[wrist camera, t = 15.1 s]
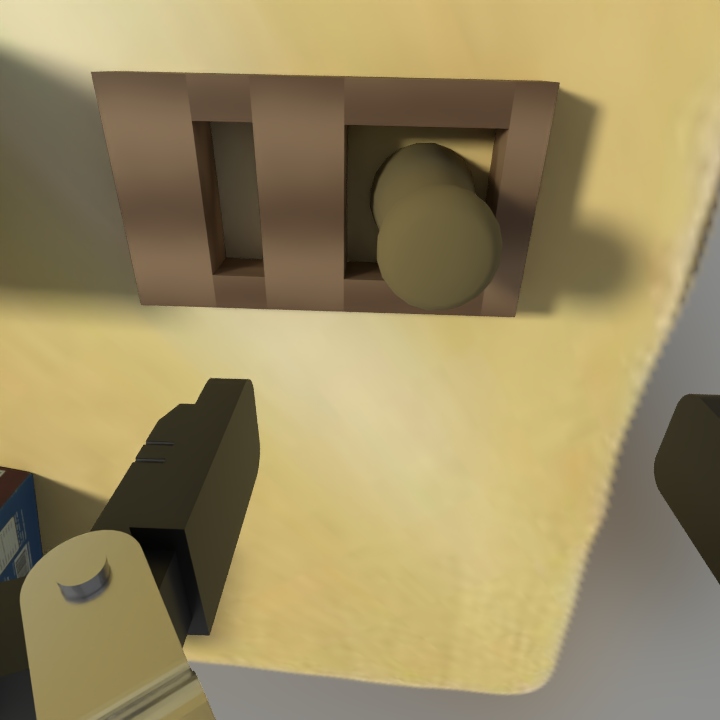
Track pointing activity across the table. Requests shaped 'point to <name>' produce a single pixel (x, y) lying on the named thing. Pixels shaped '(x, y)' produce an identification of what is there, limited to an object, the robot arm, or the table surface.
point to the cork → (433, 228)
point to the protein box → (18, 525)
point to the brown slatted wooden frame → (300, 181)
